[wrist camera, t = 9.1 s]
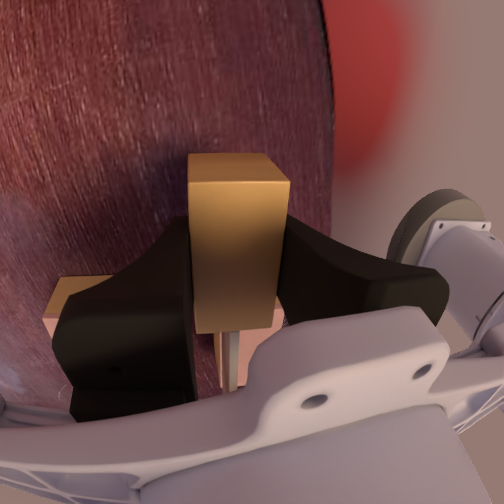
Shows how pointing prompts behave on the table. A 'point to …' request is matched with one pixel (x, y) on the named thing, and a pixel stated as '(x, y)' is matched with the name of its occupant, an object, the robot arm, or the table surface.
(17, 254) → the table surface
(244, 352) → the light tan rectangular block
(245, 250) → the chisel
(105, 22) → the table surface
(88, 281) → the pink rectangular block
